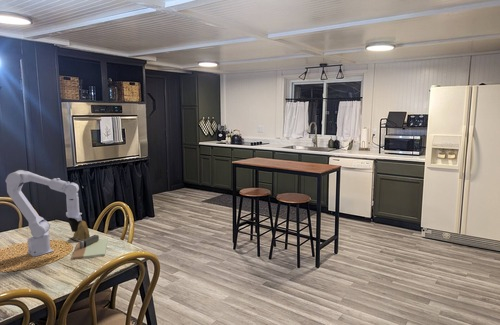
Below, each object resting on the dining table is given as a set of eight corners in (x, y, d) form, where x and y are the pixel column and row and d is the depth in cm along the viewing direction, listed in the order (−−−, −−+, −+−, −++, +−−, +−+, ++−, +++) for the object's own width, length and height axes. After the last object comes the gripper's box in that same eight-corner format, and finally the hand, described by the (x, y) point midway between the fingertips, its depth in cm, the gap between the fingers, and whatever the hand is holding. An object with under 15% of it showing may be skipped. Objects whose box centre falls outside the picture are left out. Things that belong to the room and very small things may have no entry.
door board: (78, 243, 189) (78, 235, 189) (107, 240, 194) (107, 232, 194) (72, 259, 169) (71, 250, 168) (105, 255, 174) (104, 247, 173)
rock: (94, 235, 196) (92, 228, 204) (84, 226, 192) (82, 218, 200) (78, 248, 193) (77, 240, 202) (67, 239, 189) (66, 231, 197)
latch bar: (86, 246, 182) (85, 241, 182) (82, 245, 183) (81, 240, 182) (98, 240, 191) (98, 235, 191) (94, 239, 192) (94, 234, 191)
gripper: (86, 207, 177) (88, 232, 178) (75, 202, 186) (76, 226, 188) (72, 210, 171) (74, 236, 173) (61, 205, 181) (62, 229, 183)
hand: (74, 231), depth 180 cm, fingers closed
